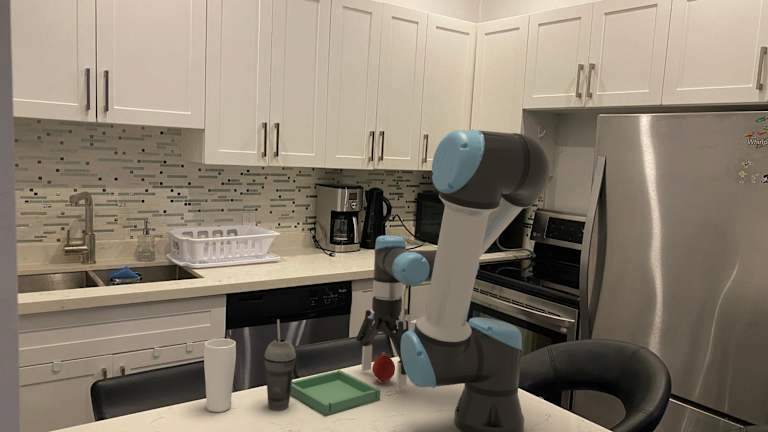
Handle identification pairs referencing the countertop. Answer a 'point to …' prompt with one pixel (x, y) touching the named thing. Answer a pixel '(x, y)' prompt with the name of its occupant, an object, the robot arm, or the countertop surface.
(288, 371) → the beverage cup
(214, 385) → the drinking glass
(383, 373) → the onion
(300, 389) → the green square tray
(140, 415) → the countertop surface
